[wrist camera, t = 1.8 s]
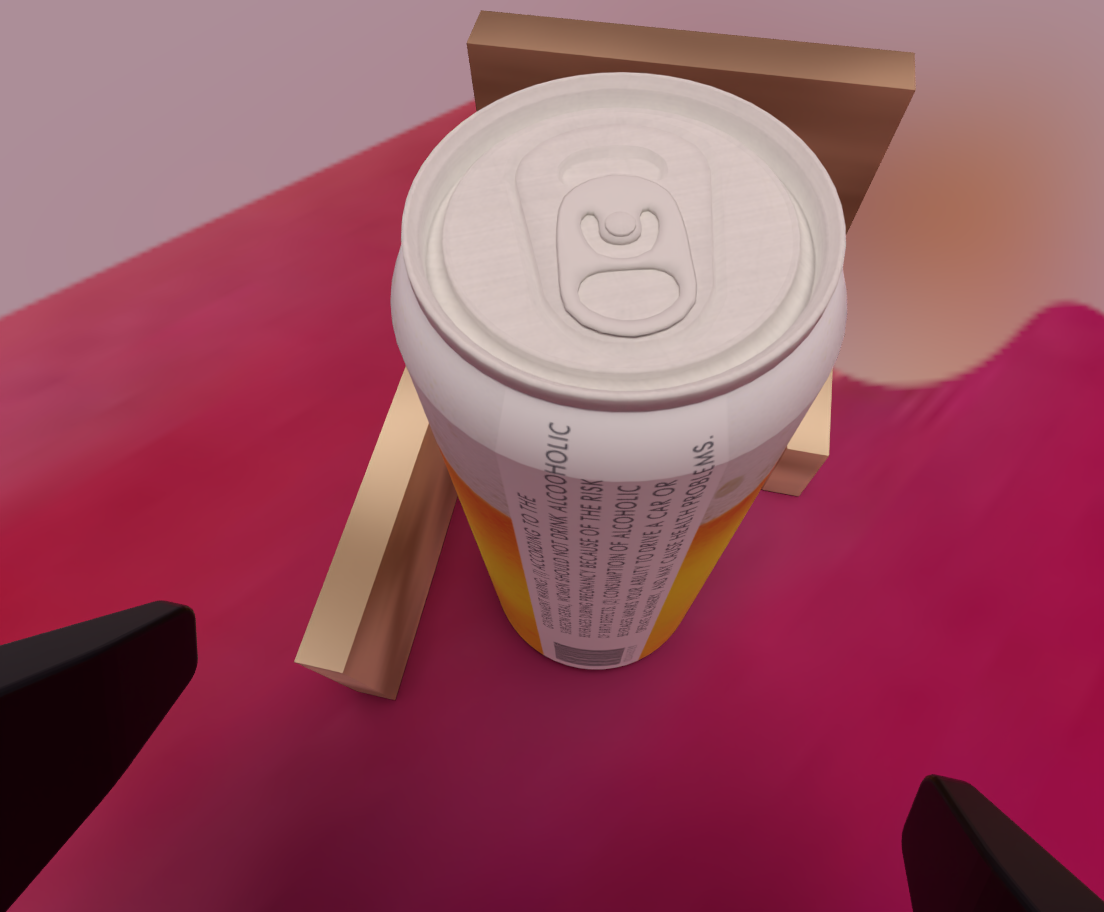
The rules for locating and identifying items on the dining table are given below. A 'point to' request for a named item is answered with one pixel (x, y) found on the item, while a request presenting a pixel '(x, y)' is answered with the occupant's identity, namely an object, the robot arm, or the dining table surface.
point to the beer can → (615, 339)
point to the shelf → (406, 438)
